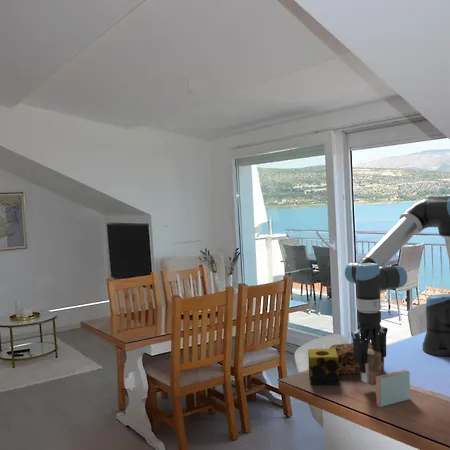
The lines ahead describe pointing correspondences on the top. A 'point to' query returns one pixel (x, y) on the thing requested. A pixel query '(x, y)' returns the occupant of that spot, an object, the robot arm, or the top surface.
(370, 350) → the light brown rectangular block
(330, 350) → the yellow spotted cube
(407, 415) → the top surface
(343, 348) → the bread
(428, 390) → the top surface
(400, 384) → the tile
